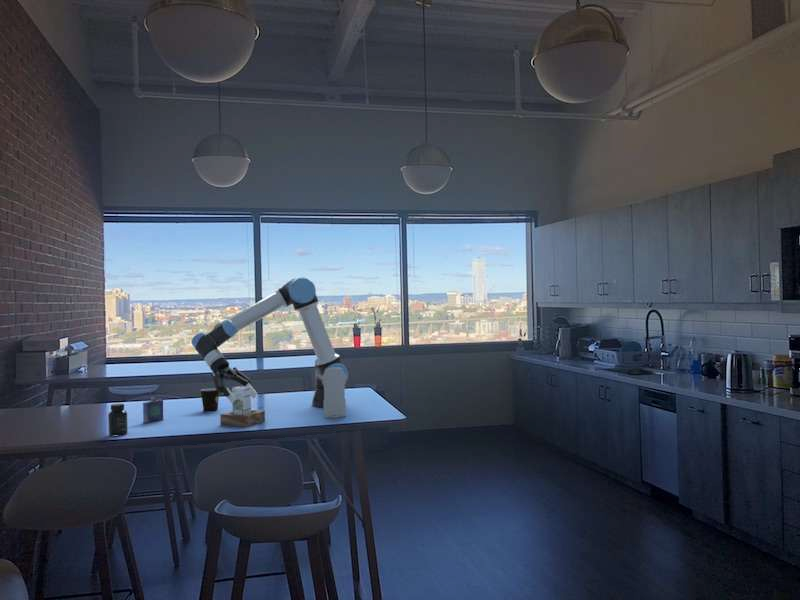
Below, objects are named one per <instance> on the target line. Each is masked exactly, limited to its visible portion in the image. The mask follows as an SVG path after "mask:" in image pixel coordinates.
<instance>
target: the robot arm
mask: <svg viewBox="0 0 800 600" xmlns="http://www.w3.org/2000/svg"><path fill="white" fill-rule="evenodd" d="M316 290H317V289H316V287H315V284H314V283H313V281H312V280H311V279H309V278H307V277H304V276H299V277H295V278H292V279H290V280H288V281H287V282H286V283H285V284H283V285H282V286H280V287H278V288H277V289H275V292H274V293H272V294H270V295H269V296H267V297H265V298H263V299H261V300H259V301H258V302H255V303H253V304H252V305H250V306H248V307H247V308H245V309H242V310H241V311H239V312H237V313H236V314H234V315H232V316H230V317H228V318H227V319H225V320H223V321H220V322H218V323H217V324H214V326H213V329H212V330H210V332H208V333H206V332H205V331H204V332H203V331H202V332H201V331H200V332H198V333H196V334H195V335H194V336H193V337H192V339H191V344H192V346H193V348H194V349H195V351H196V352H197V353H198V355H199V356H200V357H201V358H202V359H203V361H204V362H205V364H206V365H207V366H208V367H209V368H210V370H211V371H212V373H211V374H210V375H211V377H212V378H213V382H214V386H215V387H214V388H216V390H217V391H219V394H222V393H223V395H224V396H225V397H226V398H227V399H228V400H229V402H230V403H231V404H232V405H233V403H234V402H235V401H236V397H235V396H234V395H233V394H232V390H230V388H229V387H227V382H226V381H227V380H230V381H235V382H236V383H239V384H241V386H246V387H250V388H251V398H252V399H255V398H256V397H257V395H258V392H257V391H256V390H255V388H254V387H253V385H252V384H251V383H252V382H253V381H252V379H251V378H250V377H248V376H247V375H246V374H244V373H242V372H241V371H240V370H239V369H238V368H237V367H235V366H234V367H233V368H232V367H230V363H229V361H228V360H227V358H226V357H224V355H223V353H222V352H221V351H220V350H219V349H218V348H219V347H220V346H222V345H223V344H224V343H225V342H227V341H229V340H230V339H231V338H233V337H234V336H235V335H236V334H238V332H240V331H242V330H243V329H245V328H247V327H249V326H250V325H252V324H254V323H256V322H258V321H260V320H261V319H263V318H265V317H267V316H268V315H270V314H273V313H274V312H276V311H278V310H280V309H281V308H284V307H285V308H287V307H290V306H291V305H292V306H293V308H294V311H296V312H297V313H299V315H300V319H301V320H302V322H303V323H302V324H303V325H304V328H305V331H306V333H307V336H308V338H309V340H310V343H311V345H312V348H313V351H314V353H315V354H314V355H315V356H316V359H315V362H314V374H315V375H314V376H315V379H314V381H315V391H314V395H313V397H312V403H311V404H312V405H311V406H313V407H316V408H324V403H323V402H324V398H325V397H324V385H323V384H322V376H323V375H324V373H325V369H328V368H332V367H337V368H343V372H344V374H345V375H346V382H347V381H348V379H349V372H348V369H347V368H346V366H345V365H344V363H343V361H342V358H341V356H340V354H338V353H336V352H335V349H334V346H333V344H332V342H331V339H330V336H329V334H328V332H327V329H326V326H325V323H324V321H323V318H322V316H321V313H320V310H319V308H318V303H319V298H318V296H317V294H316V293H317V292H316Z"/></svg>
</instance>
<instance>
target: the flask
mask: <svg viewBox="0 0 800 600" xmlns="http://www.w3.org/2000/svg"><path fill="white" fill-rule="evenodd" d="M142 414H143V417H142V418H143V421H142V422H143V424H149V423H148V422H150V423H154V422H153V421H155V422H159V421H158V420H160V421H163V420H164V400H163V399H159V398H156V399H155V397H154V396H151V397H150V400H149V401H144V402H143V403H142Z"/></svg>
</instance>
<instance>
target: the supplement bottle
mask: <svg viewBox="0 0 800 600" xmlns="http://www.w3.org/2000/svg"><path fill="white" fill-rule="evenodd" d="M110 410H111V411H110V412H109V413H108V414H107V418H108V424H107V425H108V435H123V436H126V435H127V434H128V430H129V429H128V412H127V410H125V404H124V403H112V404H111V405H110ZM125 434H126V435H125Z"/></svg>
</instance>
